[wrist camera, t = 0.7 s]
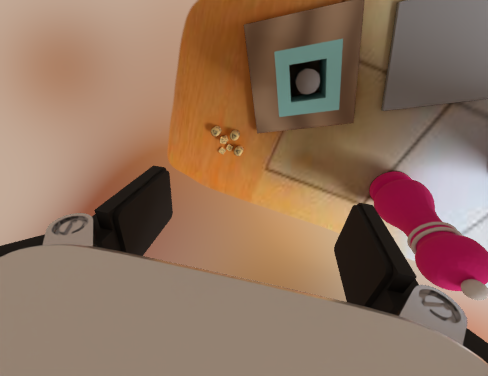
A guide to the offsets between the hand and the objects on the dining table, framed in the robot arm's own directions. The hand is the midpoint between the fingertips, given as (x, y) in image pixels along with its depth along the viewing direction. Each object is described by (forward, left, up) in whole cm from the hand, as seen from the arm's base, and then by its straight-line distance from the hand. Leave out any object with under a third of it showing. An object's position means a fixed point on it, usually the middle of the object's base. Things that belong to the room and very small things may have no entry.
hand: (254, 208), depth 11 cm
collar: (-4, -4, -20) cm, 21 cm away
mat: (-21, -4, -26) cm, 34 cm away
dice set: (+8, +4, -27) cm, 28 cm away
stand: (-4, -4, -26) cm, 27 cm away
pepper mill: (-18, +15, -26) cm, 35 cm away
